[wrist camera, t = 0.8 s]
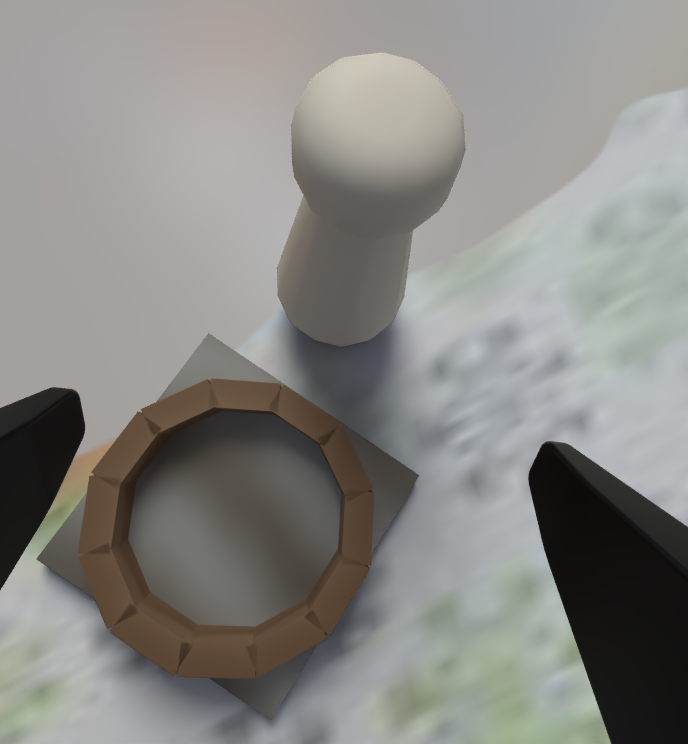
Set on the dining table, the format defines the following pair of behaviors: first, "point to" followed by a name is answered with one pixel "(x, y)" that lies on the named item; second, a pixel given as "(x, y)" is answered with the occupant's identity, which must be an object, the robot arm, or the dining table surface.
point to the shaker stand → (229, 527)
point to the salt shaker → (364, 191)
